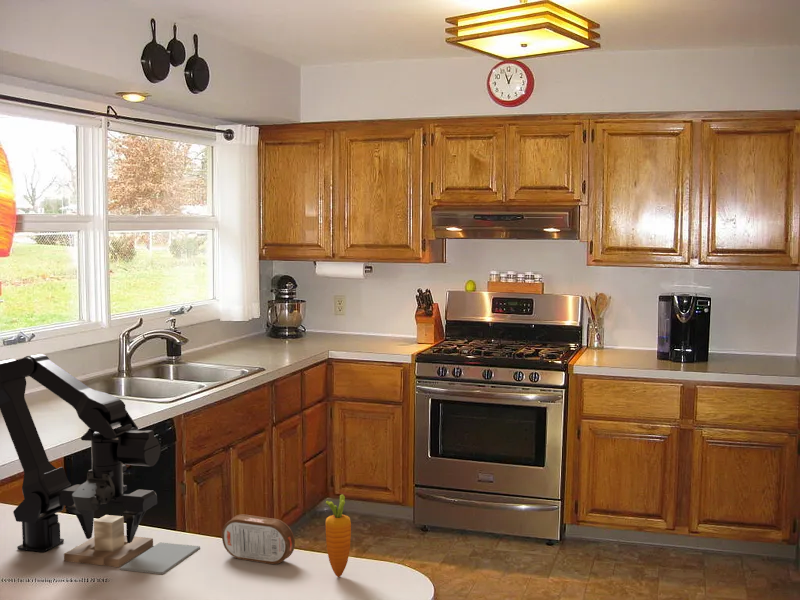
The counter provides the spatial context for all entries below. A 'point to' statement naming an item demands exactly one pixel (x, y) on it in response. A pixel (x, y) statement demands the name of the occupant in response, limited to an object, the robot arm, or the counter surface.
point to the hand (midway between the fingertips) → (109, 540)
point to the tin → (258, 539)
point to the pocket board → (108, 552)
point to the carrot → (338, 537)
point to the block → (109, 533)
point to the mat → (160, 558)
